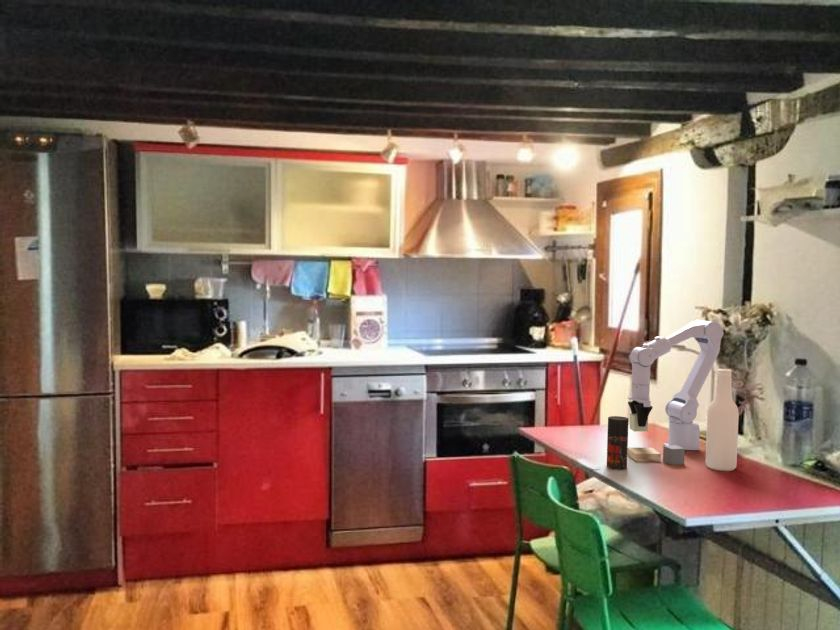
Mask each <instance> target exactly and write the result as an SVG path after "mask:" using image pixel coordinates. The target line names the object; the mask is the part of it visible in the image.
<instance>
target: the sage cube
mask: <svg viewBox="0 0 840 630" xmlns="http://www.w3.org/2000/svg"><path fill="white" fill-rule="evenodd" d="M648 424H649V418H648V419H647V422H646V426H645V427H639V426H638V420H637V414H632V413H630V414H629V429H630V430H631V431H633V432H648V431H649V430H648V429H649V425H648Z"/></svg>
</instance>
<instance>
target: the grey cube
mask: <svg viewBox="0 0 840 630" xmlns="http://www.w3.org/2000/svg"><path fill="white" fill-rule="evenodd" d="M685 451H686V450H685V448H682V447H680V446H677V445H669V446H665V445H663V446H662V462H663V463H665V464H668V465H670V466H677V465H685V455H686V454H685V453H686V452H685Z"/></svg>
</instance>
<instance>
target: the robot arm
mask: <svg viewBox="0 0 840 630" xmlns="http://www.w3.org/2000/svg"><path fill="white" fill-rule="evenodd" d="M687 323H688V324H686V325H685V326H683V327H682V328H680V329H678V330H677V331H675V332H673V333H672V334H670V335H668V336H667V337H664V336H655V337H654V339H653V340H652V341H649V342H647V343H643V344H642V346H641V347H640V346H636V347H634V348H633V349H632V350H631V351H630V354H629V355H628V359H629V361H630V363H631V390H630V393H629V394H630V395H629V396H627V400H632V401H627V404H628V407H629V409H630V414H637V420H638V426H639V427H645V426H646V422H647V419H648V420H649V415H650V413H651V411H652V410H653V406H652V405H651V404H652V403H651V397H650V388H651V387H650V385H651V384H650V383H651V365H653V363H654V361H655V360H656V359H659V358H660V357H662V356H664V355H666V354H667V353H670V351H671V349H672V347H673V346H675V345H677V344H680V343H682V342H684V341H687V340H689V339H691V338H694V340H695V342H697V344H698V345H699V348H700V352H699V354H698V356H697V358H696V360H695V361H694V364H693V365H692V368H691V369H690V372H689V374H688V376H687V377H686V380H685V381H684V383H683V386H682V388H681V389H680V391H678V392H676V393H675V394H674V395H673V396H672V398H671V399H670V400H668V402H666V405H665V408H664V409H665V410H664V411H665V414H666V416H668V443H667V442H664V443H663V446H669V445H677V446H680V447H682V448H685V451H700V450H701V448H700V435H701V433H700V432H701V431H700V425H699V422H697V421H694V420H695V419H696V417H697V415H698V408H699V405H700V404H699V402H698V399H697V398H698V396H699V393H700V392H701V390H702V388H703V386H704V384H705V382H706V380H707V378H708V376H709V373H710V372H711V369H712V367H713V366H714V364H715V362H716V360H717V358H718V355H719V353H720V351H721V341H722V339H723V336H724V334H725V333H724V331H723V328H722V325H721V324H720V323H719V322H717V321H714V320H712V321H710V320H702V319H698V318H697V319H695V320H694V321H690V322H687Z"/></svg>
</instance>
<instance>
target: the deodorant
mask: <svg viewBox="0 0 840 630" xmlns="http://www.w3.org/2000/svg"><path fill="white" fill-rule="evenodd" d="M606 444H607V445H606V468H607V467H608V468H607V469H609V470H610V469H611V470H615V471H623V470H626V469H628V455H627V450H628V448H629V447H628V446H629V445H628V444H629V417H625V416H618V415H611V416H608V417H607V440H606Z"/></svg>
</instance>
